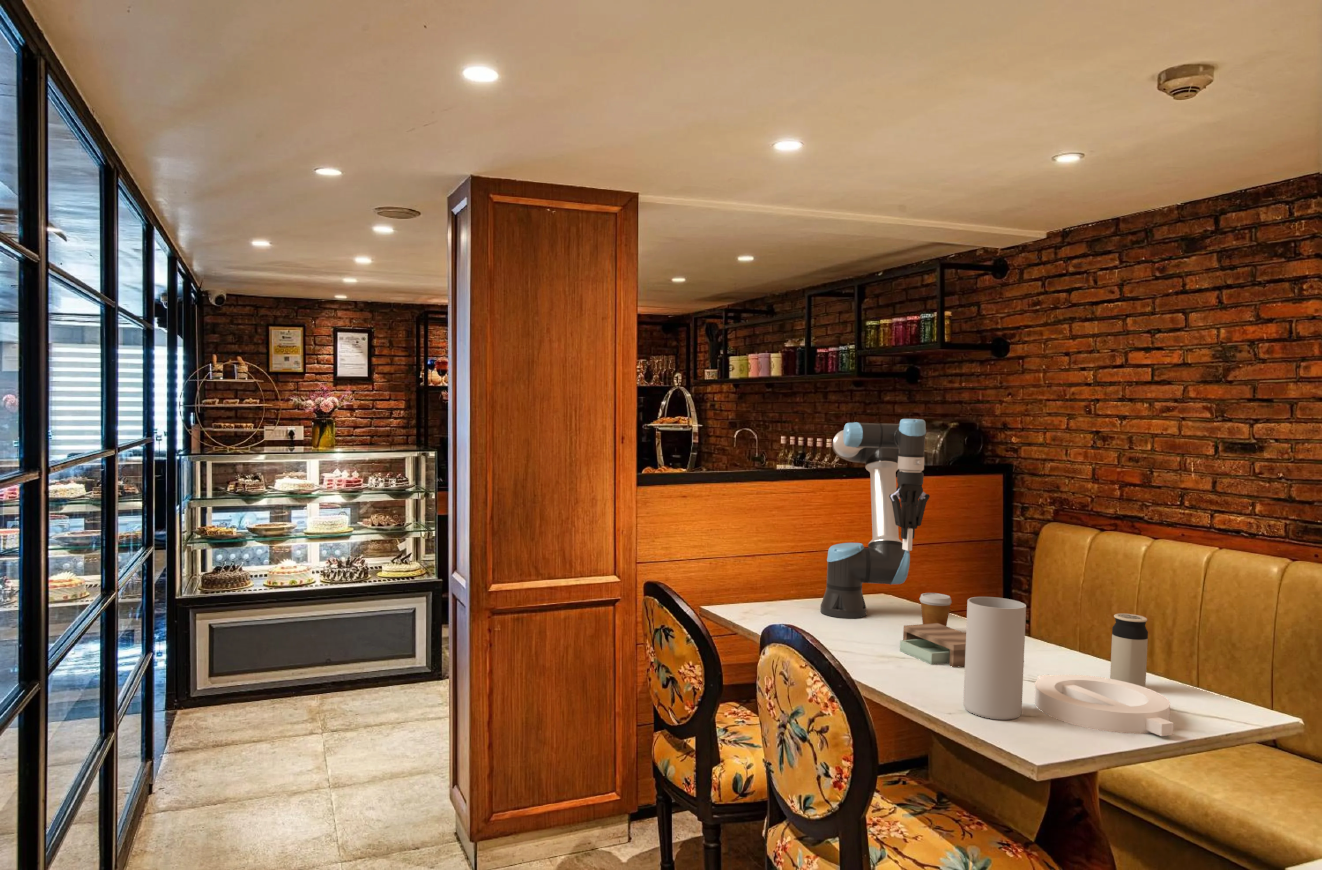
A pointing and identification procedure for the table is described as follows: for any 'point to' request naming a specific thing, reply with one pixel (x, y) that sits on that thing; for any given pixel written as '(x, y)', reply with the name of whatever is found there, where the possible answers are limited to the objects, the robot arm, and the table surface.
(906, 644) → the green tray
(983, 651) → the cylinder vase
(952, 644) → the walnut overhang
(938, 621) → the disposable coffee cup
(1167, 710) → the ring with crossbar
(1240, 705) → the table surface
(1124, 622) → the travel mug
